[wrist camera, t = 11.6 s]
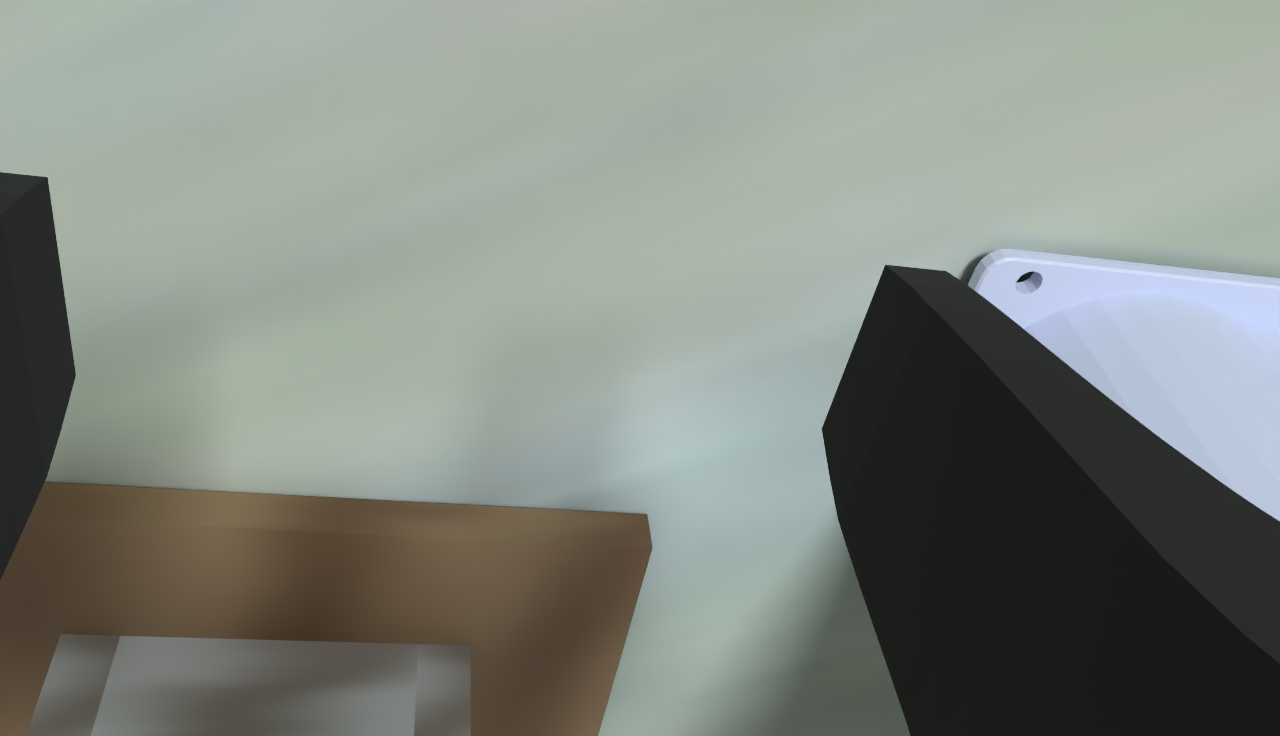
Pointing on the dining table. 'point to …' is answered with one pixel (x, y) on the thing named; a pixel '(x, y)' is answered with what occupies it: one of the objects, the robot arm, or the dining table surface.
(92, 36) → the dining table surface
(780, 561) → the dining table surface
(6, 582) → the sleeve holder
